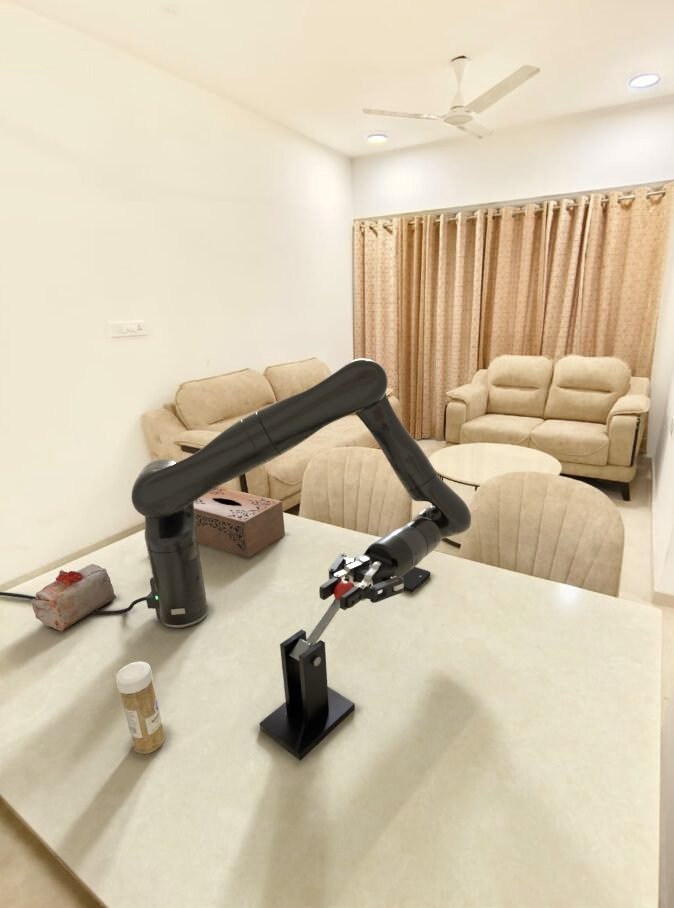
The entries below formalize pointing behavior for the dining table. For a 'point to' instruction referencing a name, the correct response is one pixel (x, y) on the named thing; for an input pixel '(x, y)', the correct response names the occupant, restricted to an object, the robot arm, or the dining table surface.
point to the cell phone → (414, 579)
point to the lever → (322, 621)
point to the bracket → (305, 701)
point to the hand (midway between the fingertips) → (331, 599)
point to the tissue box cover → (238, 521)
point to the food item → (73, 596)
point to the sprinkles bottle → (141, 706)
